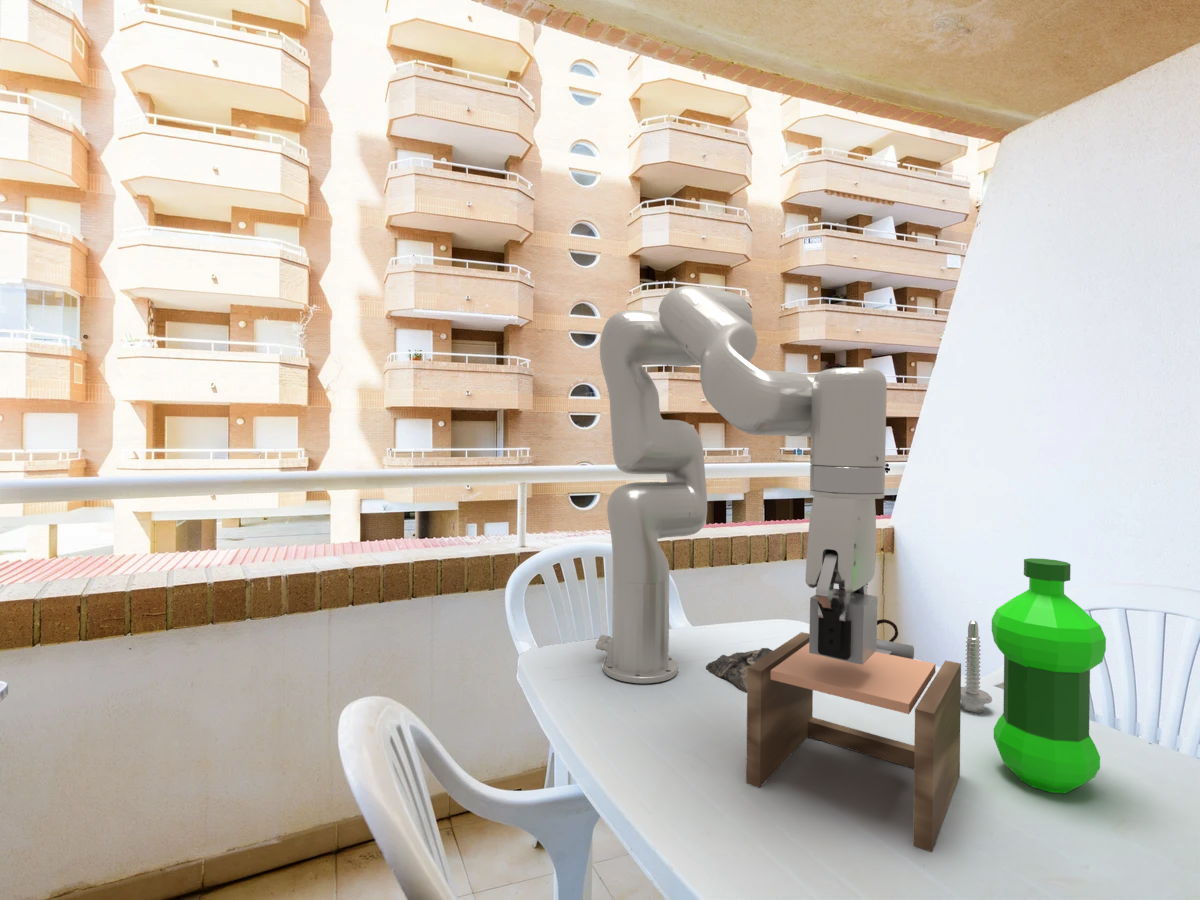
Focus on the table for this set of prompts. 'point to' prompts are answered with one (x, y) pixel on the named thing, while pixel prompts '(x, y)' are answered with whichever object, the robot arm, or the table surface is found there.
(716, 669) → the rock specimen
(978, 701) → the screw
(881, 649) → the trapdoor
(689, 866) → the table surface
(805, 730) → the wooden bench
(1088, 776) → the plastic bottle
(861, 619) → the grey cube
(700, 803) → the table surface
